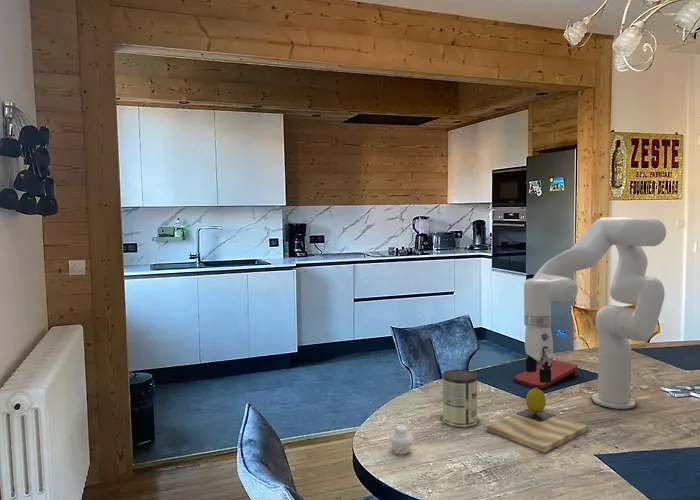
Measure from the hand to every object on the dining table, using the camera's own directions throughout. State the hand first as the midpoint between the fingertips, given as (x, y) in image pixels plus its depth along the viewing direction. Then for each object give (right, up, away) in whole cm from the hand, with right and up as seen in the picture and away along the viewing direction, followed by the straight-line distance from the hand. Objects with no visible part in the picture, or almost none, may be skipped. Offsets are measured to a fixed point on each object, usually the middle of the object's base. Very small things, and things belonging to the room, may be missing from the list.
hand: (538, 376), depth 159 cm
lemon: (-1, -11, +1) cm, 11 cm away
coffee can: (-23, -13, 0) cm, 27 cm away
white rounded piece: (-43, -15, -20) cm, 49 cm away
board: (-3, -14, -8) cm, 16 cm away
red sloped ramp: (+17, -10, +39) cm, 44 cm away
